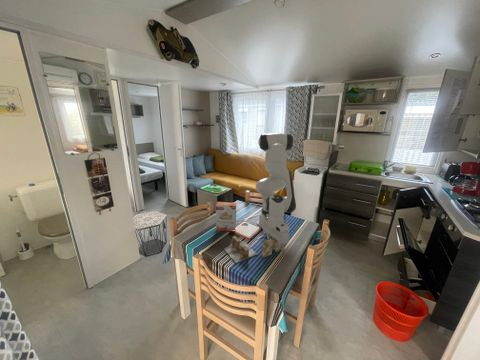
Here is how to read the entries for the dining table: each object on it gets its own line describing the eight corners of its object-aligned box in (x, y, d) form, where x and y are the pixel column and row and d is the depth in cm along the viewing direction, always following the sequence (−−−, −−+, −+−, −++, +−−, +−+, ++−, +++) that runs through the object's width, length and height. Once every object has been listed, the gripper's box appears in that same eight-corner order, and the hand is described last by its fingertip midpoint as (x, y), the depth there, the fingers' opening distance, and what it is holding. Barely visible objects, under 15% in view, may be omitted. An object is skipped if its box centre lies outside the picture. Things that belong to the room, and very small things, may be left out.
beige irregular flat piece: (263, 257, 120) (264, 243, 117) (261, 255, 121) (262, 241, 118) (283, 249, 128) (285, 235, 125) (281, 247, 129) (282, 234, 126)
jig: (223, 248, 127) (223, 239, 125) (243, 241, 134) (243, 233, 132) (236, 264, 114) (236, 254, 112) (257, 255, 122) (257, 245, 119)
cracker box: (216, 230, 147) (215, 204, 140) (217, 226, 152) (217, 201, 146) (235, 232, 146) (235, 205, 139) (236, 227, 151) (236, 202, 145)
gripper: (260, 216, 125) (259, 235, 129) (283, 232, 108) (281, 253, 113) (268, 214, 128) (267, 232, 132) (291, 229, 112) (289, 249, 116)
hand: (273, 242), depth 122 cm, fingers open, 8 cm apart
